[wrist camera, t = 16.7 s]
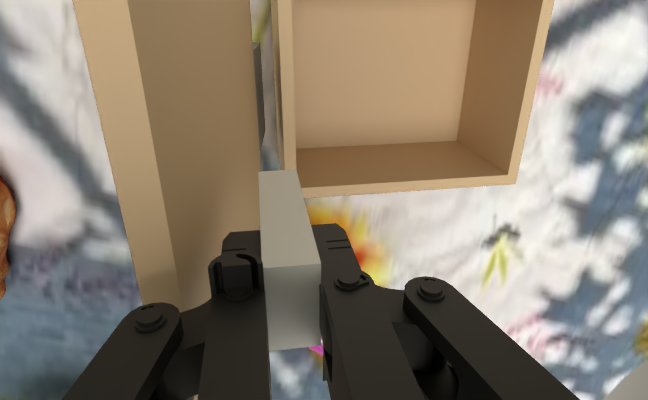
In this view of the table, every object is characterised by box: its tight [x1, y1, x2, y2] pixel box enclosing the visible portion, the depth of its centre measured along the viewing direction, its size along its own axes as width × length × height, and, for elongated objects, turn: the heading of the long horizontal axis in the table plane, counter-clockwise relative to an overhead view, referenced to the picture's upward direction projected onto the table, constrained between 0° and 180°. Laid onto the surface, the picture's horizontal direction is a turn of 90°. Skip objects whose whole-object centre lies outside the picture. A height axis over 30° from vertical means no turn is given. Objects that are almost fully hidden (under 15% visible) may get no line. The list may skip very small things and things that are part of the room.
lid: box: [72, 0, 265, 400], centre depth 25 cm, size 31×17×1 cm
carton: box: [270, 0, 554, 198], centre depth 40 cm, size 22×17×12 cm
